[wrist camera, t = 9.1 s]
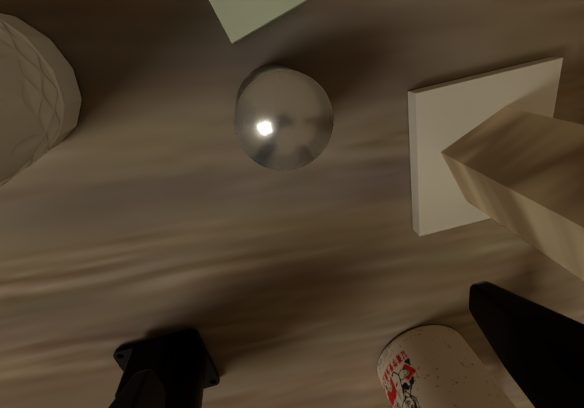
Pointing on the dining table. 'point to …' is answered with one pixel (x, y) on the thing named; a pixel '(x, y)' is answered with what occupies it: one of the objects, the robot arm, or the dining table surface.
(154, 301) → the dining table surface
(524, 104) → the tile
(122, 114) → the dining table surface
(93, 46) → the dining table surface
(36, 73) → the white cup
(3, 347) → the dining table surface
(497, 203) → the oak block
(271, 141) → the grey cylinder
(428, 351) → the teacup with lid
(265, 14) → the sage cube
